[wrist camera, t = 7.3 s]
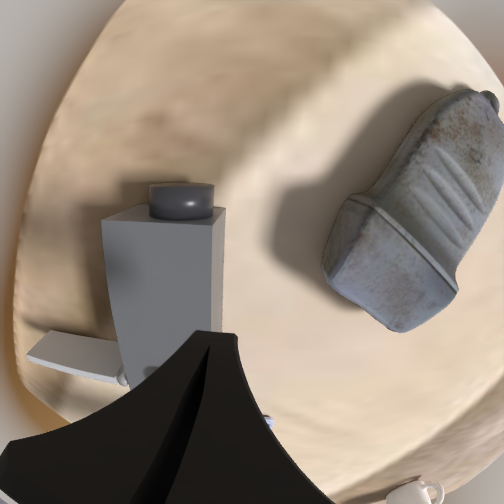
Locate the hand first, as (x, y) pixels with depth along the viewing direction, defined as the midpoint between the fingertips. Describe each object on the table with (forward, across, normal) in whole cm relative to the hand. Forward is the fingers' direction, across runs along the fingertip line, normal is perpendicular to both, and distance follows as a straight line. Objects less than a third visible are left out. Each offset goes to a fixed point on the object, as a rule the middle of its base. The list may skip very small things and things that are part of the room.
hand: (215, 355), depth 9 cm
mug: (+11, -35, +45) cm, 58 cm away
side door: (+10, +13, +9) cm, 19 cm away
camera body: (+10, +4, +3) cm, 12 cm away
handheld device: (+11, -13, -6) cm, 18 cm away
